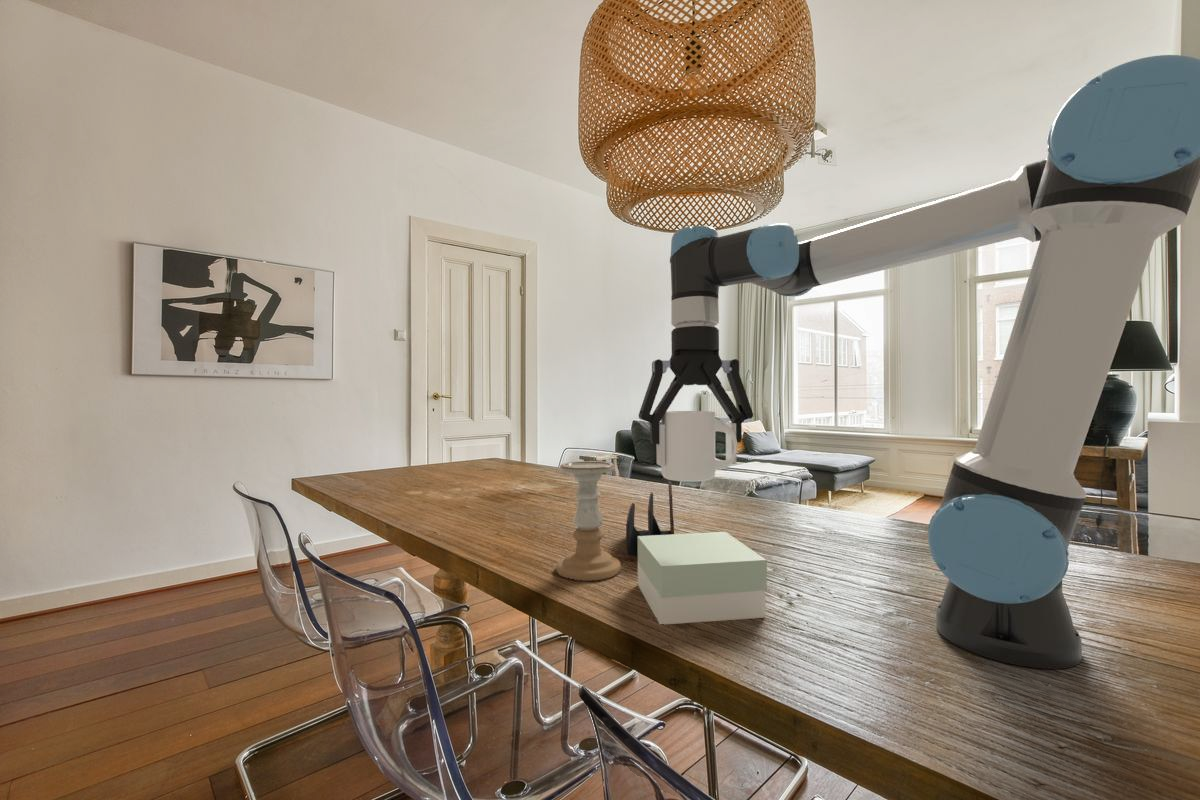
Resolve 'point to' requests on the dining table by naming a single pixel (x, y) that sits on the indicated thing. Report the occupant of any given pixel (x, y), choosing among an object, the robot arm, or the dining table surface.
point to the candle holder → (588, 527)
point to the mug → (693, 445)
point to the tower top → (700, 564)
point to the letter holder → (652, 527)
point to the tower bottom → (701, 604)
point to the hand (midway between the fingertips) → (696, 464)
